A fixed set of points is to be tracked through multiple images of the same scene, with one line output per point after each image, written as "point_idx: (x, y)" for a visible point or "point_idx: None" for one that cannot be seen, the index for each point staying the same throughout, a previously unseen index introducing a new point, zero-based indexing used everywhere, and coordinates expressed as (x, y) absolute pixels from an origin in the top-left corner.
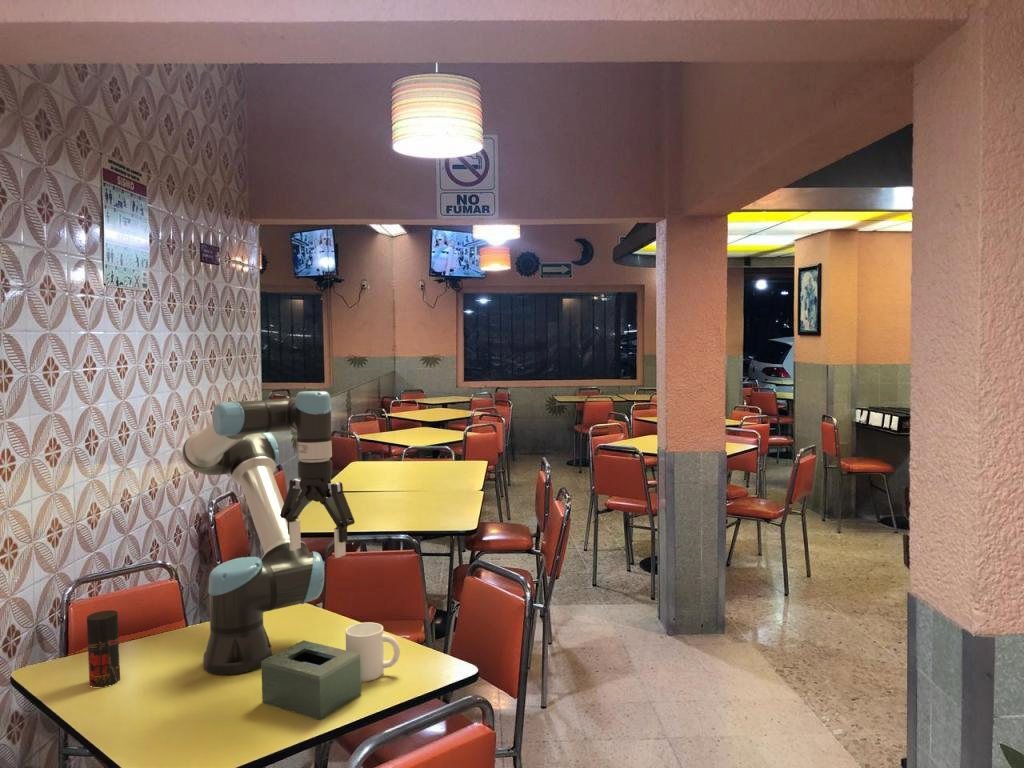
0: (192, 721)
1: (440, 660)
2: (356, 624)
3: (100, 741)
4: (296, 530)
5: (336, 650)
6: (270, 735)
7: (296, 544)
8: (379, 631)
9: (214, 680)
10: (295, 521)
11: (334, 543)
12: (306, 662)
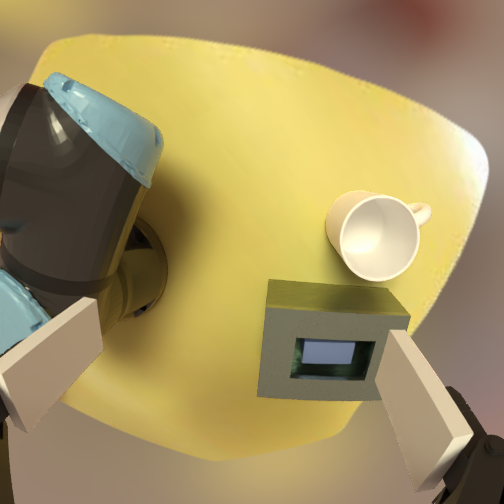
0: (216, 410)
1: (439, 131)
2: (347, 219)
3: (170, 446)
4: (46, 371)
5: (362, 321)
6: (328, 405)
7: (88, 336)
8: (418, 240)
9: (143, 326)
10: (16, 408)
11: (392, 426)
12: (311, 342)
